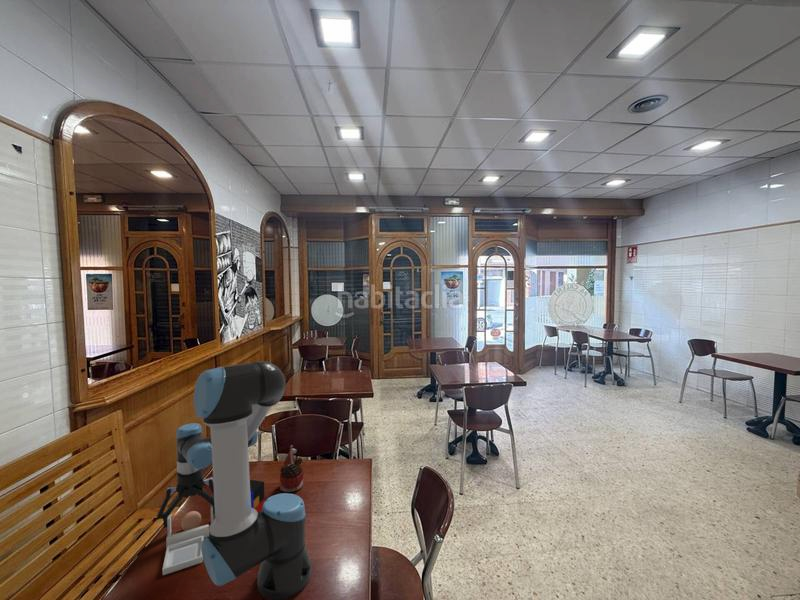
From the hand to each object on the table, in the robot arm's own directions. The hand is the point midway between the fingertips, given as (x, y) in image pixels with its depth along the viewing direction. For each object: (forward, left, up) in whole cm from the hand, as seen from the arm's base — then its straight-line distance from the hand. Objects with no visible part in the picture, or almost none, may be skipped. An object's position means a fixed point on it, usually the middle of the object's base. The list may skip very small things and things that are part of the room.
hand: (191, 528), depth 118 cm
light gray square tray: (-13, +1, 0) cm, 13 cm away
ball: (0, 0, 0) cm, 0 cm away
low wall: (-6, 0, 0) cm, 6 cm away
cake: (+9, -36, 0) cm, 37 cm away
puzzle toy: (0, -17, 0) cm, 17 cm away
